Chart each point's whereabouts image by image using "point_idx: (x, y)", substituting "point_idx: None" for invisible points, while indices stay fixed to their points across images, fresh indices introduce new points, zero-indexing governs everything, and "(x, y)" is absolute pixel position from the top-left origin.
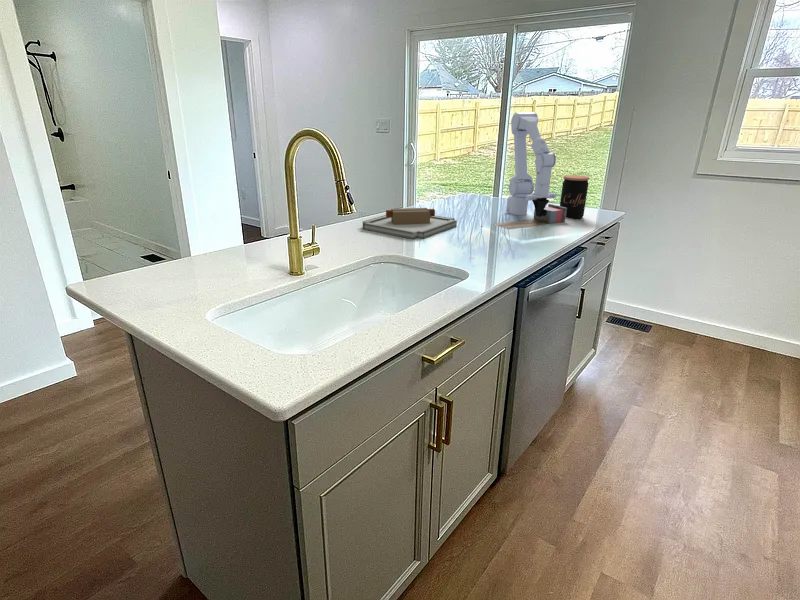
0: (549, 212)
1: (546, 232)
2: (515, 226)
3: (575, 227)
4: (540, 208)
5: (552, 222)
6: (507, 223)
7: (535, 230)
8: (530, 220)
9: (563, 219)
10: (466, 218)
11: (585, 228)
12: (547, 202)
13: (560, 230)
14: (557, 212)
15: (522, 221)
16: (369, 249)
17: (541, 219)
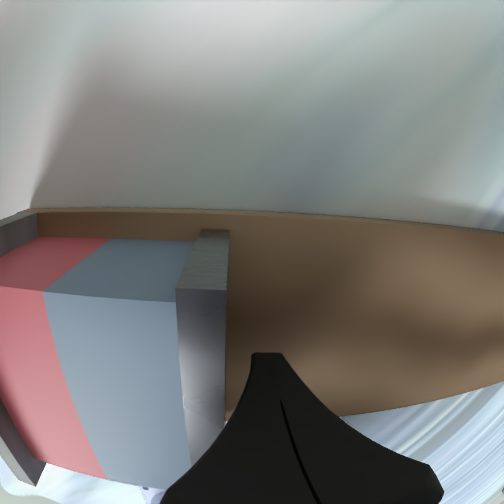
0: (223, 277)
1: (417, 61)
2: None
3: (35, 77)
4: (331, 415)
5: (147, 241)
6: (478, 369)
7: (446, 162)
8: None
9: (21, 219)
10: None
11: (9, 32)
12: (207, 489)
13: (247, 31)
14: (42, 277)
15: (363, 393)
16: None
17: (226, 342)
